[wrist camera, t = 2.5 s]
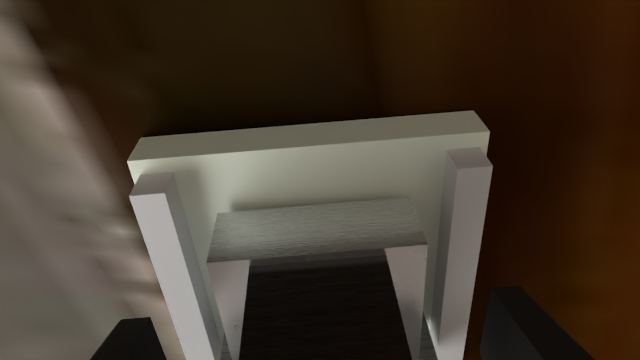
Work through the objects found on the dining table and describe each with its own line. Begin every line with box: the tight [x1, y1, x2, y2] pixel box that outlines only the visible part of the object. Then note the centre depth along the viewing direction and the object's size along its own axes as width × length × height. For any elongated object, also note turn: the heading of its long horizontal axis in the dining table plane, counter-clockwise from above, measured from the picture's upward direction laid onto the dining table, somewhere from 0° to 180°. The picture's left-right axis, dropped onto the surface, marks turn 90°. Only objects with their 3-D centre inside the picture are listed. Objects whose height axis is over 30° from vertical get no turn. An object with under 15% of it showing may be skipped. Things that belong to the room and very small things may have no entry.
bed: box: [127, 110, 493, 360], centre depth 14 cm, size 10×9×2 cm
